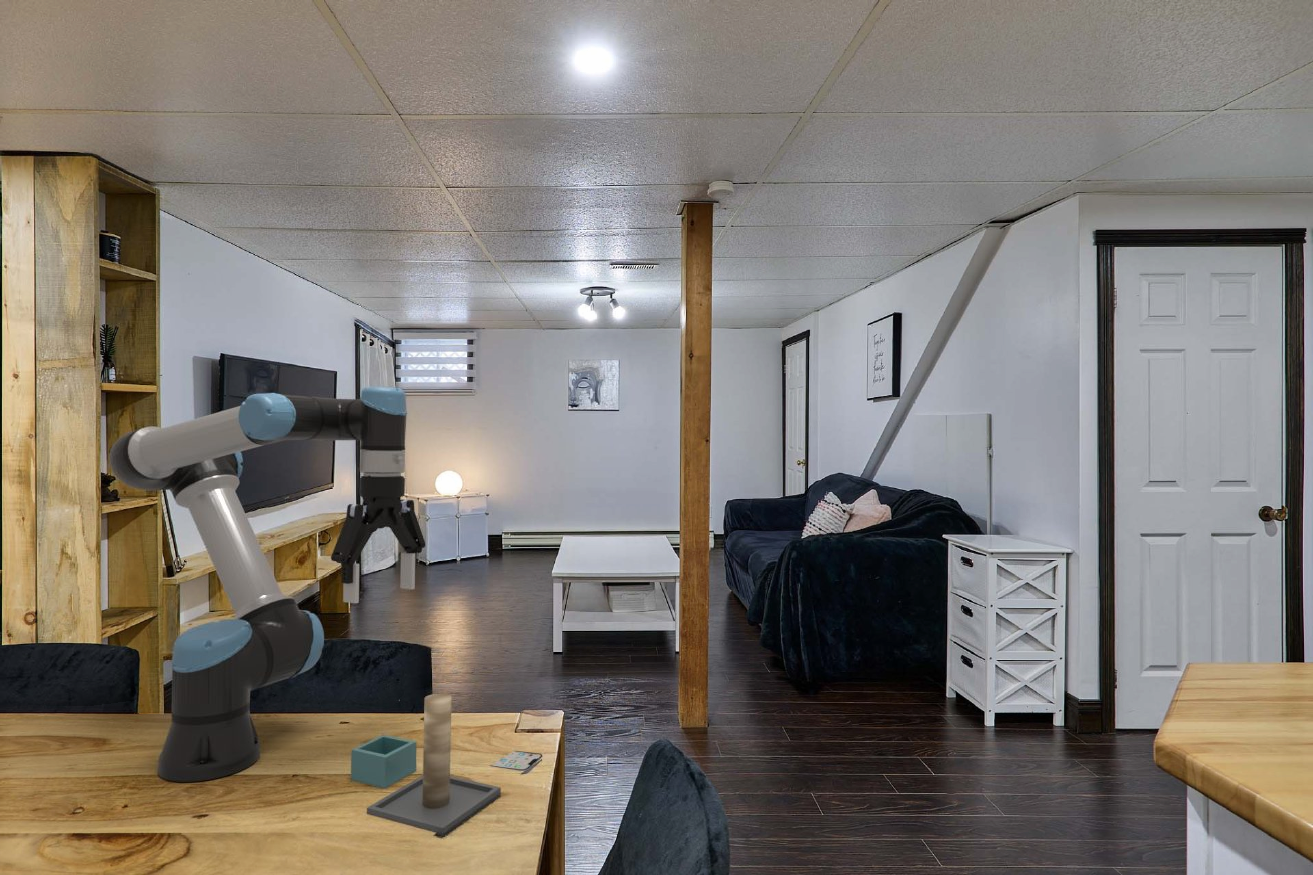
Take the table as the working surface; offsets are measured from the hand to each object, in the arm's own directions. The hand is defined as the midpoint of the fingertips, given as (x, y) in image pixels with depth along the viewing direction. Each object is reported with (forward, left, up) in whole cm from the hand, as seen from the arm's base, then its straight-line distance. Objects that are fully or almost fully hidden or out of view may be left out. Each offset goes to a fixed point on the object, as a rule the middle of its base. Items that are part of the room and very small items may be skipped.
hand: (380, 595), depth 135 cm
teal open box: (+7, -6, -29) cm, 30 cm away
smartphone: (+19, +8, -29) cm, 36 cm away
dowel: (+21, -10, -28) cm, 36 cm away
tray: (+21, -10, -29) cm, 37 cm away
